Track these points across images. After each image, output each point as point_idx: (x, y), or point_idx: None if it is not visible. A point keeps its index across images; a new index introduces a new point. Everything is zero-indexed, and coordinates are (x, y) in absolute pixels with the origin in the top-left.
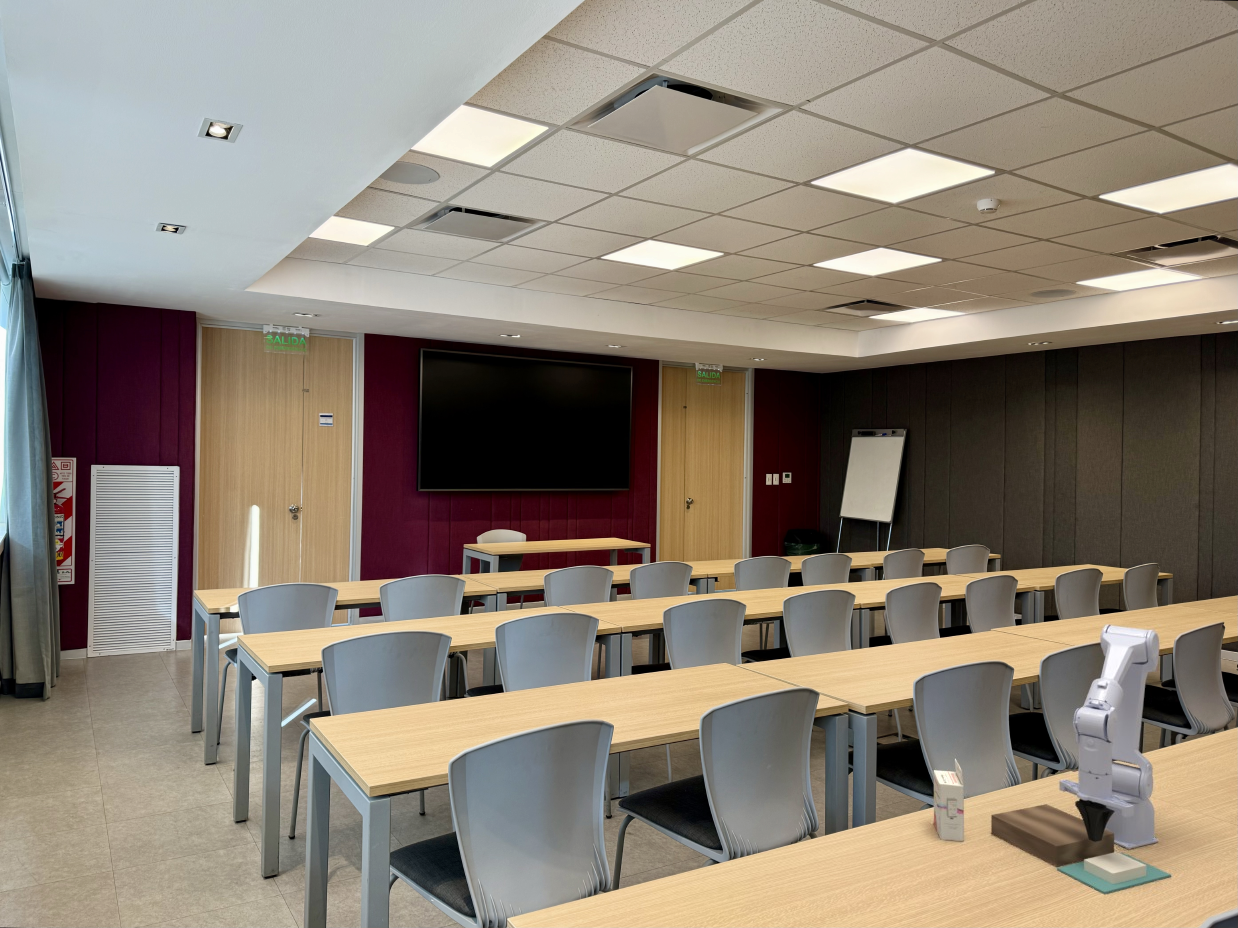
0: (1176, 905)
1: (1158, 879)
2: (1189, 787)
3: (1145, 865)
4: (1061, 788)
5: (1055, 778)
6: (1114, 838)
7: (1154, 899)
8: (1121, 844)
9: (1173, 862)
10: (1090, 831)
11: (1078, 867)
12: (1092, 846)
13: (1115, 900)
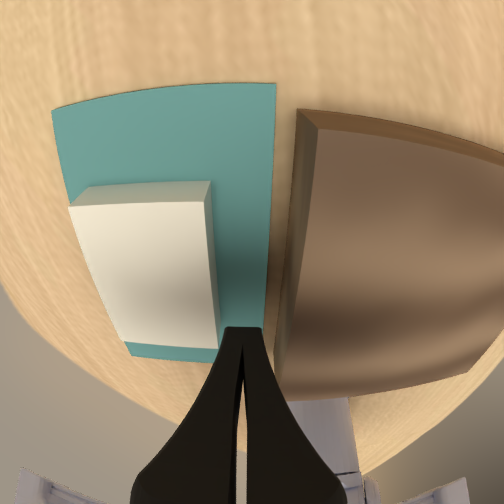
0: (11, 251)
1: None
2: None
3: (120, 338)
4: (457, 492)
5: (454, 408)
6: None
7: (28, 230)
8: None
9: (191, 391)
10: (239, 361)
11: (237, 178)
12: (284, 323)
13: (25, 115)
